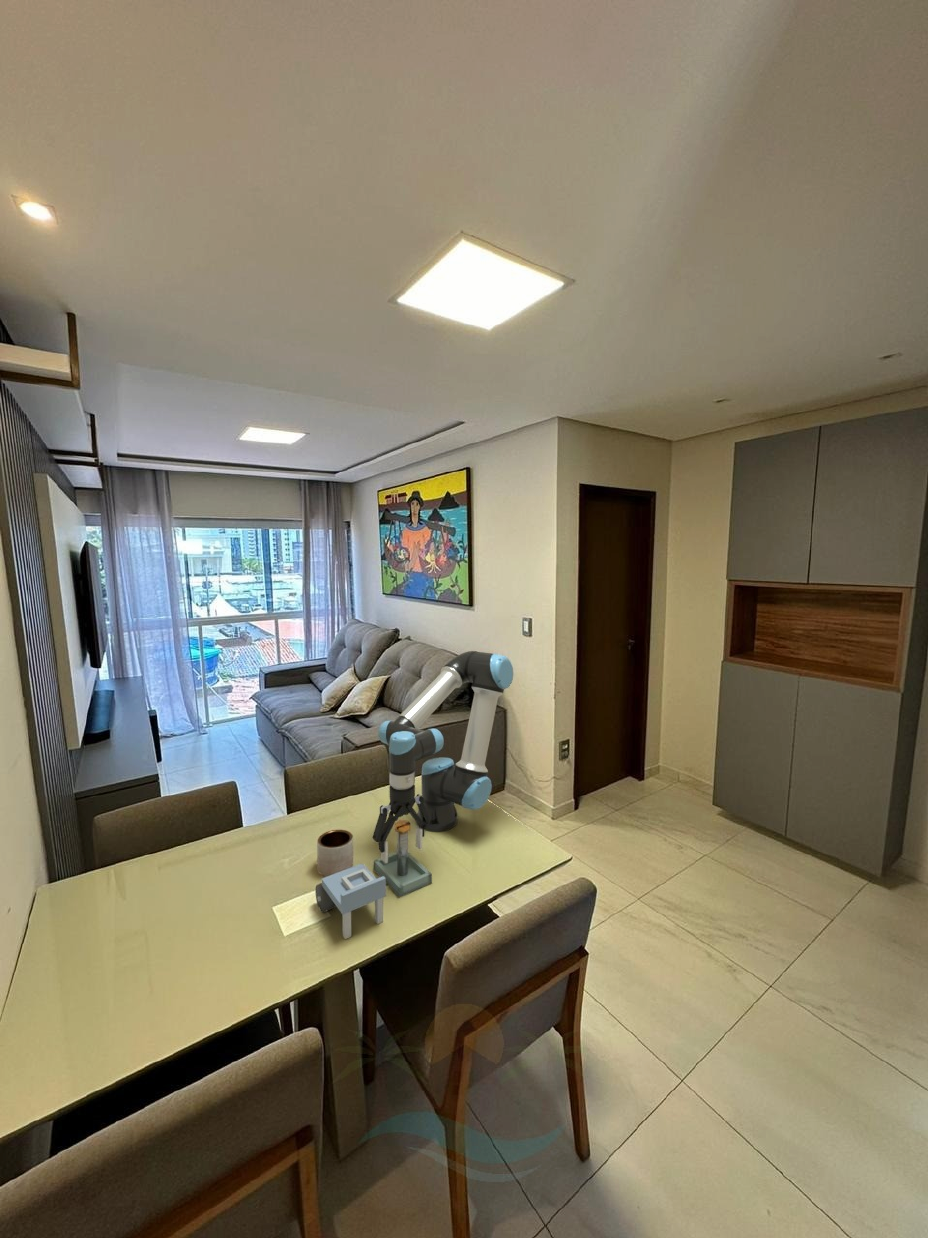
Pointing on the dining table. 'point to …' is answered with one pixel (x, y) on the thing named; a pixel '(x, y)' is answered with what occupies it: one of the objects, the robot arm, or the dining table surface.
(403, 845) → the orange and grey cylinder
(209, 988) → the dining table surface
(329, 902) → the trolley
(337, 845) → the planter
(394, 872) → the tray
